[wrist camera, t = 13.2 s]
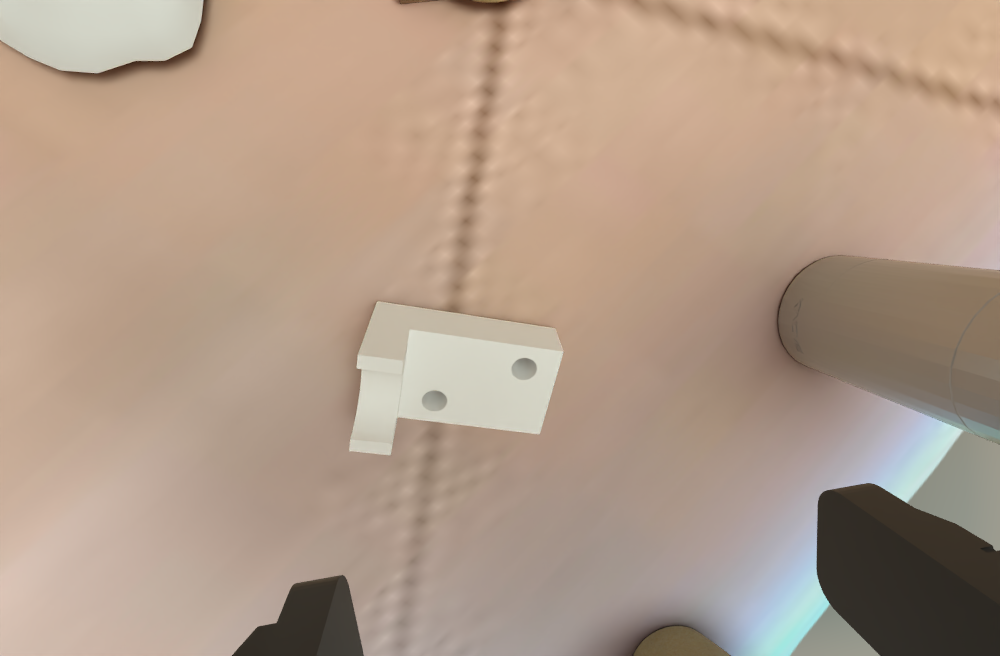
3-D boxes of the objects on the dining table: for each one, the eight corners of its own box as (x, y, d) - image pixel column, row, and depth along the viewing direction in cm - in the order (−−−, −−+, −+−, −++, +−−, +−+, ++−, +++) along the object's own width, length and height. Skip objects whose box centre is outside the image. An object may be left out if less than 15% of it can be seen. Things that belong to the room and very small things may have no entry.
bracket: (368, 384, 39) (349, 450, 33) (377, 301, 36) (357, 354, 30) (533, 406, 41) (547, 472, 34) (555, 328, 38) (575, 384, 31)
